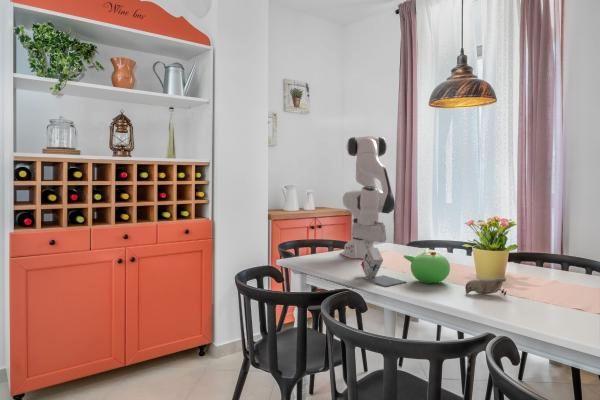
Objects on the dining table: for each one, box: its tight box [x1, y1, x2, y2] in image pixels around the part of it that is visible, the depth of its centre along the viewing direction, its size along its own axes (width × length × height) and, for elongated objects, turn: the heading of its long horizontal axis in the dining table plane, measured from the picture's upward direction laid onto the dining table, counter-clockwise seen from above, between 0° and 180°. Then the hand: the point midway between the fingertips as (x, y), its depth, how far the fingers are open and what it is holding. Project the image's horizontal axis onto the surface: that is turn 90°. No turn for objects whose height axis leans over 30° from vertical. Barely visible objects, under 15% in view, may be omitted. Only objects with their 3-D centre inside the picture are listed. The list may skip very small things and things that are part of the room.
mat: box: [363, 275, 407, 288], centre depth 194 cm, size 14×13×1 cm
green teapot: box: [403, 248, 451, 284], centre depth 193 cm, size 18×17×15 cm
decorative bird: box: [464, 277, 508, 296], centre depth 175 cm, size 5×16×8 cm, turn 83°
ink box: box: [360, 247, 384, 278], centre depth 200 cm, size 8×5×12 cm
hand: (368, 249), depth 202 cm, fingers closed
